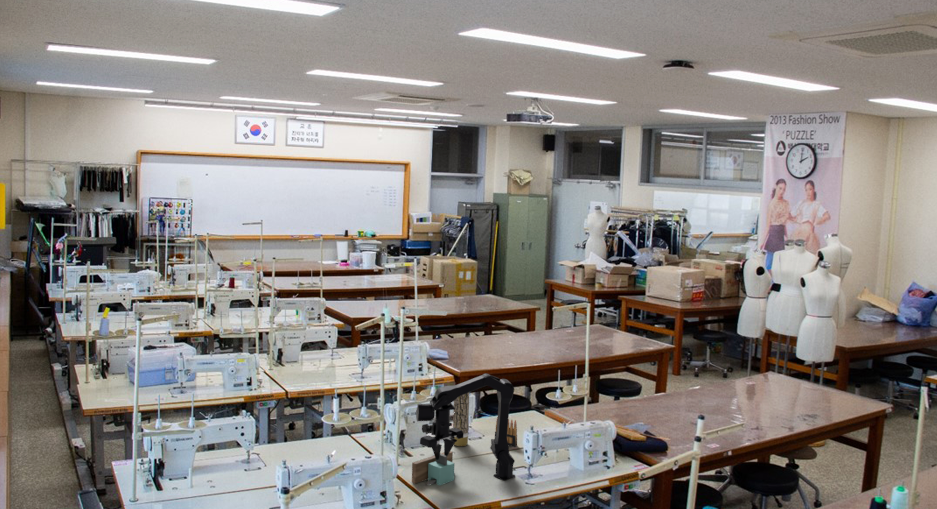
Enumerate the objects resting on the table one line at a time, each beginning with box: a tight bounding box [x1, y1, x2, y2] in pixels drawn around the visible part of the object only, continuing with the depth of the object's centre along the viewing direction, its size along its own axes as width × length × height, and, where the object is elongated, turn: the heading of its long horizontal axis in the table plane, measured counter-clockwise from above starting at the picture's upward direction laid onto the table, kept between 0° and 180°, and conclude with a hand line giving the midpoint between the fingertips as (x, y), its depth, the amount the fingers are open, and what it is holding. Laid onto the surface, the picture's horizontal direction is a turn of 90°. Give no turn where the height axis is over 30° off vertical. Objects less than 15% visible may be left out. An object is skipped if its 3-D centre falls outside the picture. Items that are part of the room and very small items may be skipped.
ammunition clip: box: [494, 416, 518, 448], centre depth 357 cm, size 11×2×12 cm, turn 61°
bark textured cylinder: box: [452, 392, 470, 447], centre depth 354 cm, size 7×7×25 cm
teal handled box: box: [427, 454, 455, 486], centre depth 314 cm, size 7×8×10 cm
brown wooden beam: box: [411, 451, 456, 486], centre depth 316 cm, size 7×20×8 cm, turn 135°
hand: (441, 458), depth 314 cm, fingers open, 4 cm apart
